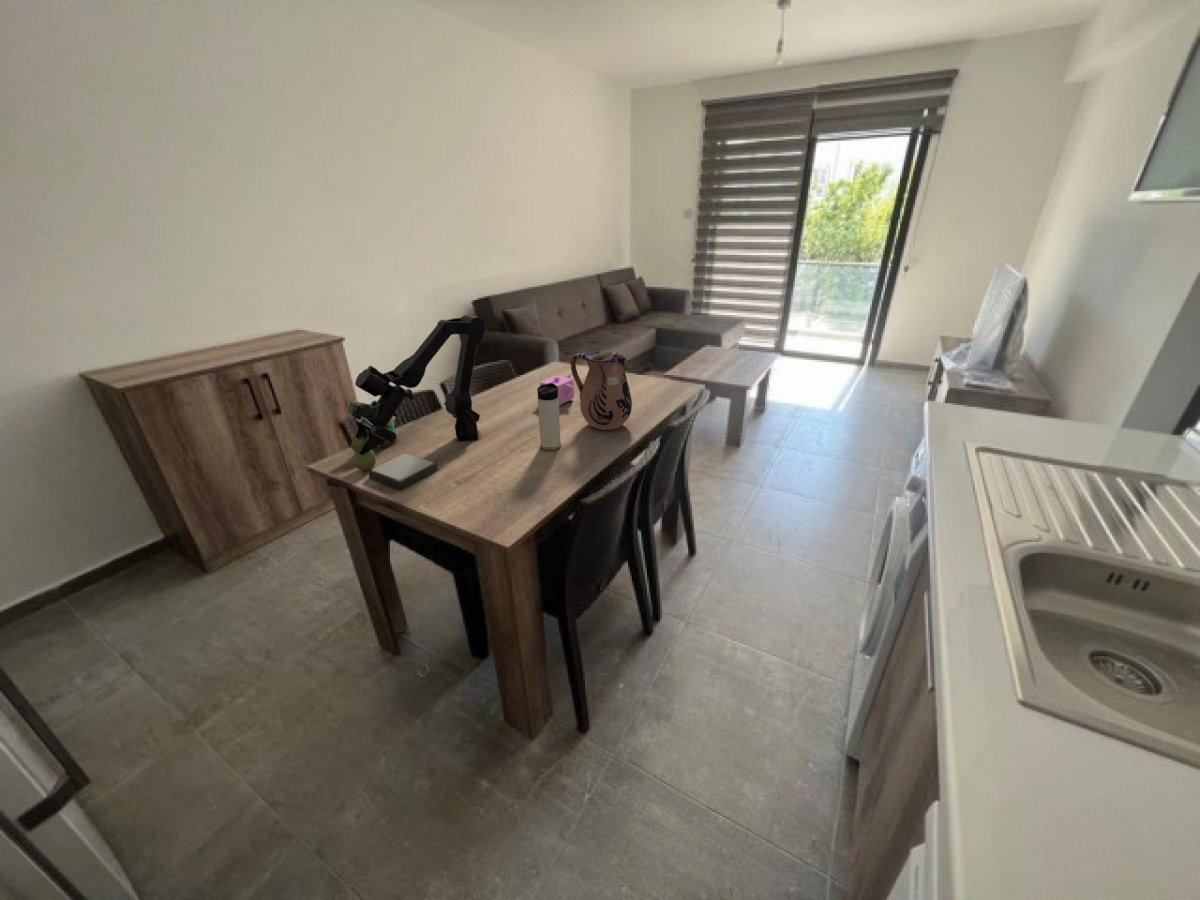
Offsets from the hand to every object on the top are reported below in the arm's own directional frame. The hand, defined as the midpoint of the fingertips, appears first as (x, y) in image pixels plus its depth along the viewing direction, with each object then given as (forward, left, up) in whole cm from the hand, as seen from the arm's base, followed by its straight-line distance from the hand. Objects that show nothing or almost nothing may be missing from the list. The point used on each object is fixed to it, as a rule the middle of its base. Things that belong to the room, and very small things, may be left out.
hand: (356, 450), depth 135 cm
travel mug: (-55, -5, -7) cm, 56 cm away
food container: (-4, -18, -7) cm, 19 cm away
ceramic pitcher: (-74, -18, -7) cm, 77 cm away
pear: (-1, -1, -7) cm, 7 cm away
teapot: (-63, -44, -7) cm, 77 cm away
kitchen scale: (-12, +4, -7) cm, 15 cm away
